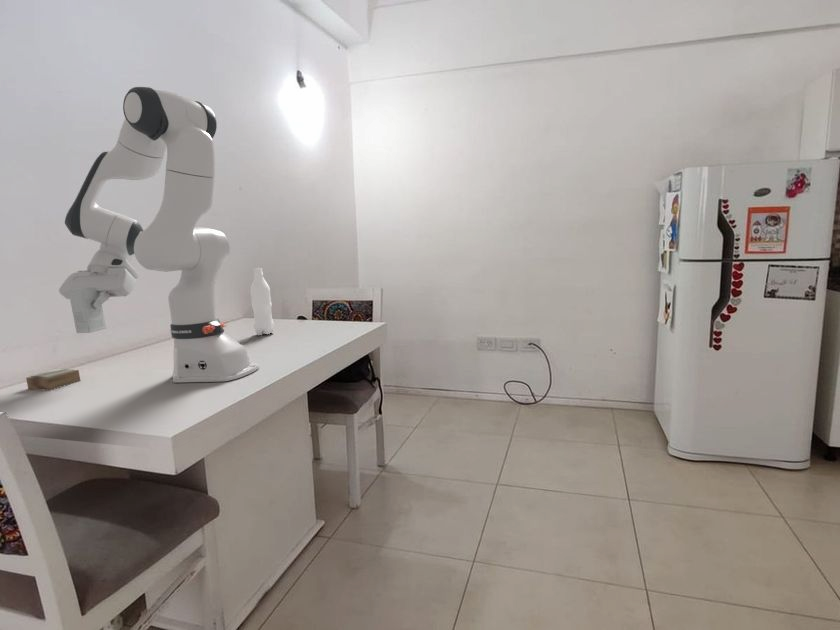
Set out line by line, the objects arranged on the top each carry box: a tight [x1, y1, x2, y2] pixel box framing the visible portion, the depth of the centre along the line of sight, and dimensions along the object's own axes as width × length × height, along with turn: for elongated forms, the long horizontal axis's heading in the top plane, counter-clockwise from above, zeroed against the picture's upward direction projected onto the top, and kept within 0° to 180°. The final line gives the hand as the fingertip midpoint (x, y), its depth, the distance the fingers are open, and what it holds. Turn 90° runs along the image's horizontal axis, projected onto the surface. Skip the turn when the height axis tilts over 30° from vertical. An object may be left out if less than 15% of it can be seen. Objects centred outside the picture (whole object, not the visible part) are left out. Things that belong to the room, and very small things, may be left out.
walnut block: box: [25, 368, 81, 391], centre depth 128 cm, size 8×8×3 cm
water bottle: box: [249, 267, 275, 336], centre depth 181 cm, size 7×7×25 cm
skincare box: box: [69, 287, 107, 334], centre depth 134 cm, size 6×4×12 cm
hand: (85, 307), depth 133 cm, fingers closed on skincare box, 4 cm apart
